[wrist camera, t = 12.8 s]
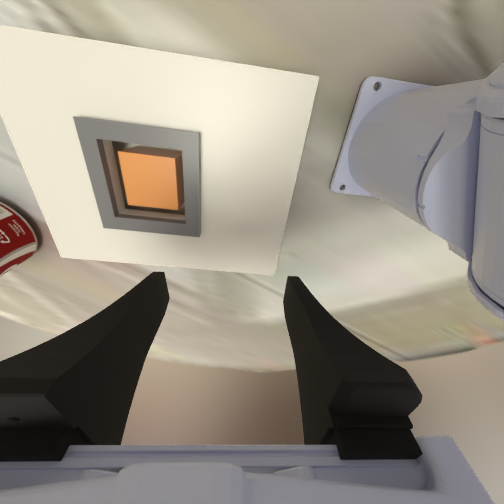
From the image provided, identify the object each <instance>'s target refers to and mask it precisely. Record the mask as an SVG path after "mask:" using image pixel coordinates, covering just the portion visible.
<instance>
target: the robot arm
mask: <svg viewBox="0 0 504 504" xmlns="http://www.w3.org/2000/svg"><path fill="white" fill-rule="evenodd" d="M376 82H377V83H378V85H379V86H378V89H377V90H376V91H375V90H374V85H375V83H376ZM341 185H344V187H343V189H340V186H341ZM330 189H331V190H332V191H333V192H335V193H343V194H352V195H360V196H369V197H377V198H379V199H380V200H382V201H383V202H385V203H387V204H388V205H390V206H391V207H393V208H395V209H396V210H398V211H399V212H401V213H403V214H404V215H406V216H407V217H409V218H411V219H412V220H414V221H416V222H417V223H419V224H420V225H422V226H424V227H425V228H427V229H428V230H430V231H432V232H433V233H435V234H436V235H438V236H439V237H441V238H443V239H444V240H446V241H447V243H448V246H449V249H450V250H451V251H453V252H454V253H456V254H457V255H459V256H460V257H462V258H463V259H465V260H466V261H469V264H468V270H467V283H468V285H469V288H470V290H471V292H472V294H473V295H474V296H475V298H476V299H477V300H478V301H479V302H480V303H481V304H482V305H483V306H484V307H485V308H486V309H487V310H488V311H490V312H491V313H492V314H494V315H495V316H496V317H498V318H500V319H501V320H503V321H504V61H503V62H502V63H501V64H500V66H499V67H498V68H497V69H496V70H495V71H494V72H492V73H491V74H490V75H488V76H487V77H486V78H485V79H478V80H472V81H466V82H460V83H454V84H447V85H441V86H431V85H424V84H418V83H412V82H406V81H400V80H394V79H388V78H382V77H376V76H370V77H368V78H366V79H365V80H364V81H363V83H362V85H361V88H360V91H359V94H358V98H357V101H356V104H355V107H354V110H353V114H352V117H351V120H350V123H349V126H348V130H347V133H346V136H345V139H344V143H343V146H342V149H341V152H340V155H339V159H338V162H337V165H336V168H335V171H334V175H333V178H332V181H331V184H330ZM168 302H169V293H168V288H167V283H166V278H165V274H164V272H153V273H151V274H150V275H149V276H147V277H146V278H145V279H144V280H142V281H141V282H140V283H139V284H138V285H136V286H135V287H134V288H132V289H131V290H130V291H129V292H127V293H126V294H125V295H124V296H122V297H121V298H119V299H118V300H117V301H115V302H114V303H112V304H111V305H110V306H108V307H107V308H105V309H104V310H102V311H101V312H99V313H98V314H96V315H95V316H93V317H91V318H90V319H88V320H86V321H85V322H83V323H81V324H79V325H77V326H76V327H74V328H72V329H70V330H68V331H66V332H65V333H63V334H61V335H59V336H57V337H55V338H53V339H51V340H49V341H47V342H44V343H42V344H40V345H38V346H36V347H34V348H31V349H29V350H27V351H24V352H22V353H20V354H17V355H15V356H13V357H10V358H8V359H6V360H3V361H1V362H0V504H494V502H493V501H492V499H491V498H490V496H489V495H488V493H487V491H486V490H485V488H484V487H483V485H482V483H481V482H480V480H479V479H478V477H477V476H476V474H475V473H474V471H473V469H472V468H471V467H470V465H469V463H468V462H467V460H466V459H465V457H464V455H463V454H462V452H461V451H460V449H459V447H458V446H457V444H456V443H455V441H454V440H453V438H452V437H450V436H421V437H418V438H414V436H413V434H412V432H411V430H410V429H412V428H413V425H412V423H411V421H410V419H409V417H408V415H409V414H410V413H411V412H412V411H413V410H414V409H415V408H416V407H418V405H419V404H420V403H421V400H422V394H421V392H420V391H419V389H418V387H417V386H416V384H415V383H414V381H413V379H412V378H411V376H410V375H409V373H408V372H407V371H406V369H404V368H402V367H400V366H399V365H397V364H396V363H394V362H392V361H391V360H389V359H387V358H386V357H384V356H382V355H381V354H379V353H378V352H376V351H375V350H373V349H372V348H370V347H369V346H368V345H366V344H365V343H363V342H362V341H361V340H359V339H358V338H357V337H356V336H354V335H353V334H352V333H350V332H349V331H348V330H347V329H346V328H344V327H343V326H342V325H341V324H340V323H339V322H338V321H337V320H335V319H334V318H333V317H332V316H331V315H330V314H329V313H328V312H327V311H326V310H325V308H324V307H323V306H322V305H321V304H320V303H319V302H318V301H317V299H316V298H315V297H314V296H313V295H312V294H311V292H310V291H309V290H308V289H307V287H306V286H305V285H304V283H303V282H302V281H301V279H300V278H299V277H297V276H288V278H287V283H286V289H285V294H284V300H283V304H284V313H285V319H286V324H287V328H288V332H289V336H290V340H291V344H292V348H293V353H294V358H295V364H296V371H297V378H298V386H299V394H300V402H301V412H302V422H303V432H304V443H305V445H121V441H122V437H123V433H124V429H125V425H126V421H127V417H128V414H129V410H130V407H131V403H132V400H133V396H134V392H135V389H136V386H137V383H138V380H139V376H140V374H141V371H142V367H143V364H144V361H145V359H146V356H147V353H148V351H149V349H150V346H151V344H152V342H153V340H154V337H155V335H156V333H157V331H158V329H159V326H160V324H161V322H162V320H163V317H164V315H165V312H166V309H167V305H168ZM269 474H273V475H269Z"/></svg>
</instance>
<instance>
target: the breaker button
mask: <svg viewBox="0 0 504 504" xmlns="http://www.w3.org/2000/svg"><path fill="white" fill-rule="evenodd" d="M118 155H119V161H120V166H121V171H122V176H123V181H124V186H125V191H126V197H127V202H128V205H134V206H144V207H153V208H163V209H172V210H179V209H180V207H181V206H182V204H183V203H184V202H185V199H184V179H183V158H182V151H176V150H168V149H160V148H152V147H145V146H136V147H132V148H128V149H124V150H120V151H118Z"/></svg>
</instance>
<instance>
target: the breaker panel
mask: <svg viewBox="0 0 504 504" xmlns="http://www.w3.org/2000/svg"><path fill="white" fill-rule="evenodd" d="M318 80H319V76H314V75H308V74H302V73H295V72H289V71H283V70H277V69H271V68H264V67H258V66H252V65H246V64H240V63H233V62H227V61H221V60H215V59H209V58H202V57H196V56H190V55H184V54H178V53H171V52H165V51H159V50H153V49H147V48H140V47H134V46H128V45H122V44H116V43H109V42H103V41H97V40H91V39H85V38H78V37H72V36H66V35H60V34H54V33H48V32H41V31H35V30H29V29H23V28H17V27H10V26H4V25H0V115H1V117H2V119H3V122H4V124H5V126H6V129H7V131H8V133H9V136H10V138H11V140H12V143H13V145H14V147H15V150H16V152H17V155H18V157H19V159H20V162H21V164H22V166H23V169H24V171H25V173H26V176H27V178H28V180H29V183H30V185H31V187H32V190H33V192H34V195H35V197H36V199H37V202H38V204H39V206H40V209H41V211H42V213H43V216H44V218H45V220H46V223H47V225H48V227H49V230H50V232H51V234H52V237H53V239H54V242H55V244H56V246H57V249H58V251H59V253H60V256H61V257H62V258H74V259H86V260H98V261H110V262H122V263H133V264H145V265H157V266H169V267H181V268H193V269H204V270H216V271H228V272H240V273H252V274H264V275H275V272H276V267H277V263H278V258H279V254H280V250H281V245H282V241H283V236H284V232H285V227H286V223H287V218H288V214H289V209H290V205H291V200H292V196H293V192H294V187H295V183H296V178H297V174H298V169H299V165H300V160H301V156H302V151H303V147H304V143H305V138H306V134H307V129H308V125H309V120H310V116H311V111H312V107H313V102H314V98H315V94H316V89H317V85H318ZM136 146H145V147H152V148H160V149H168V150H176V151H182V158H183V179H184V199H185V202H184V203H183V204H182V206H181V207H180V209H179V210H172V209H163V208H153V207H144V206H134V205H128V202H127V197H126V191H125V186H124V181H123V176H122V171H121V166H120V161H119V155H118V151H120V150H124V149H128V148H132V147H136Z"/></svg>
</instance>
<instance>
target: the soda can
mask: <svg viewBox="0 0 504 504" xmlns="http://www.w3.org/2000/svg"><path fill="white" fill-rule="evenodd" d="M37 246H38V242H37V237H36V234H35V232H34V230H33V229H32V227H31V226H30V224H29V223H28V222H27V221H26V220H25V219H24V218H23V217H22V216H21V215H20V214H19V213H18V212H16V211H15V210H14V209H12V208H11V207H9V206H7V205H6V204H4V203H2V202H0V276H2V275H3V274H5V273H6V272H8V271H9V270H11V269H12V268H14V267H16V266H17V265H19V264H20V263H22V262H23V261H25V260H26V259H28V258H29V257H31V256H32V255H33V254H34V253H35V252H36V250H37Z"/></svg>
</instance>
